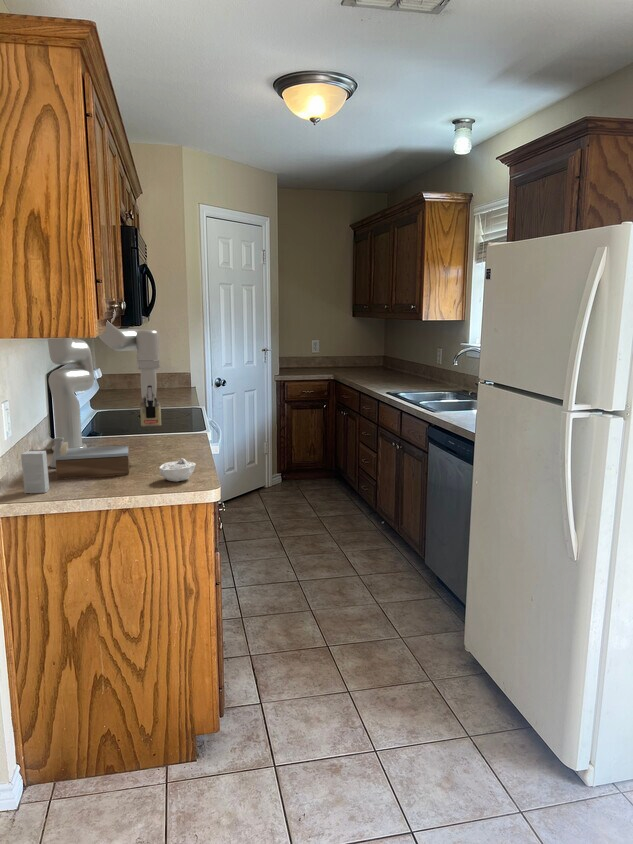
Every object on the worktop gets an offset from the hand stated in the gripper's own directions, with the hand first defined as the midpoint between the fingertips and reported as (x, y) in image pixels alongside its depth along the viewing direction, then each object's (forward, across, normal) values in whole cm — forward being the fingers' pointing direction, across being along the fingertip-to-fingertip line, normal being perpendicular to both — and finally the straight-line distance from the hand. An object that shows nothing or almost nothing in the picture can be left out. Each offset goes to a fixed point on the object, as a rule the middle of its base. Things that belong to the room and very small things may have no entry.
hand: (150, 416), depth 221 cm
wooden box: (+16, +12, -19) cm, 28 cm away
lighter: (+4, 0, 0) cm, 4 cm away
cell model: (+16, +30, +7) cm, 35 cm away
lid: (+10, +12, -19) cm, 25 cm away
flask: (+16, 0, -31) cm, 35 cm away
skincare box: (+16, +32, -34) cm, 49 cm away
